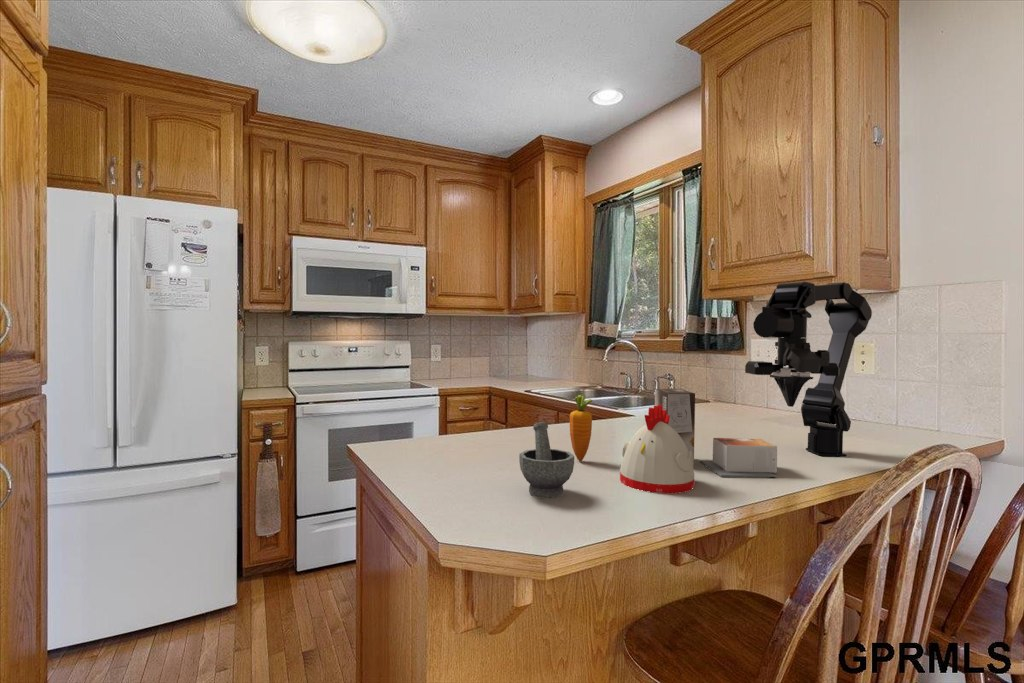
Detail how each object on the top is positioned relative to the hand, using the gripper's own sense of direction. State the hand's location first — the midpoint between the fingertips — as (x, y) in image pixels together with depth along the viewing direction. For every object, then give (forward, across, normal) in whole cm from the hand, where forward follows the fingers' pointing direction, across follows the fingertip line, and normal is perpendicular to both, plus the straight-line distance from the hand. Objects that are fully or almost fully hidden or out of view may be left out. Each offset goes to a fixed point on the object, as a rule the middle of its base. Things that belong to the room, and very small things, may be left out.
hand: (790, 406), depth 119 cm
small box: (+9, -8, -8) cm, 15 cm away
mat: (+12, -16, -8) cm, 21 cm away
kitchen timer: (+13, -35, -18) cm, 41 cm away
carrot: (+13, -48, -3) cm, 50 cm away
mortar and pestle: (+13, -57, -25) cm, 64 cm away
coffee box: (+13, -27, -2) cm, 30 cm away
